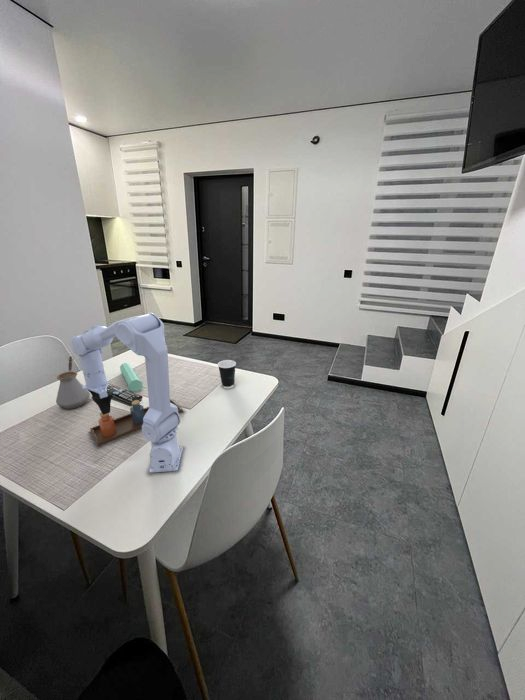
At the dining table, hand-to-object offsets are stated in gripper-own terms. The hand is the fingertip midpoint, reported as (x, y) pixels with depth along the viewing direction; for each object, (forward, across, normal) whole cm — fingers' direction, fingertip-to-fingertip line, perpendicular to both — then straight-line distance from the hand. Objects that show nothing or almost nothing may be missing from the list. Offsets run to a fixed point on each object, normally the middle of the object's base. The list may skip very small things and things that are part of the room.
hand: (103, 408), depth 93 cm
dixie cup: (+11, -1, +49) cm, 51 cm away
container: (+11, -35, +18) cm, 41 cm away
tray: (+10, 0, +10) cm, 14 cm away
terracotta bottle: (+10, 0, 0) cm, 10 cm away
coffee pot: (+11, -34, -4) cm, 36 cm away
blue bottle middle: (+10, 0, +10) cm, 14 cm away
